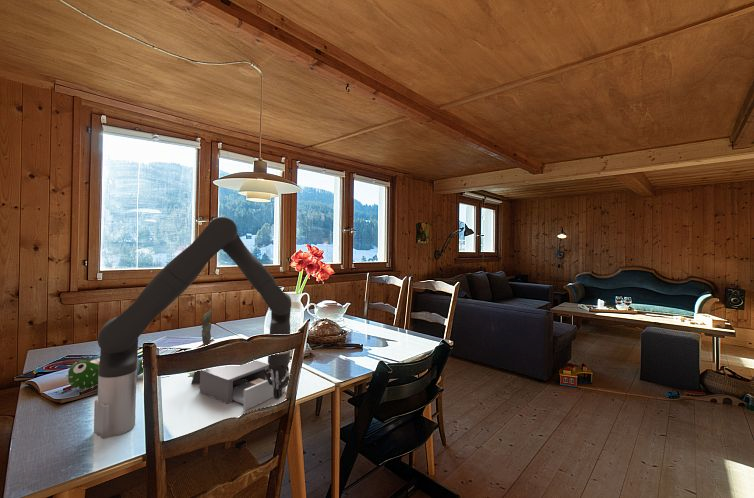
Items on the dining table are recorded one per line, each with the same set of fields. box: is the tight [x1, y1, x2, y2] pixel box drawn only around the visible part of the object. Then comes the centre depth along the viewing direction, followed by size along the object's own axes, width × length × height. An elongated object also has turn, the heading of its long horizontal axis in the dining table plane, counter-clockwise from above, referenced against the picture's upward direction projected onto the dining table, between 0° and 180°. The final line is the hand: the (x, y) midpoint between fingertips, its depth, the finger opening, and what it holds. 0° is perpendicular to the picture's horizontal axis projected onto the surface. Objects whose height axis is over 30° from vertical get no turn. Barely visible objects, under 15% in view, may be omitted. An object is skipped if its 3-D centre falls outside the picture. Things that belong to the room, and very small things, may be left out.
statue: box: [190, 307, 214, 385], centre depth 141 cm, size 7×8×30 cm
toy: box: [65, 356, 144, 391], centre depth 136 cm, size 22×11×30 cm
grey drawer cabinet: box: [199, 360, 269, 404], centre depth 135 cm, size 16×19×8 cm
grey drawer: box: [232, 378, 287, 412], centre depth 130 cm, size 16×19×7 cm
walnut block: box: [249, 378, 266, 387], centre depth 128 cm, size 4×4×4 cm
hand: (277, 398), depth 124 cm, fingers closed
